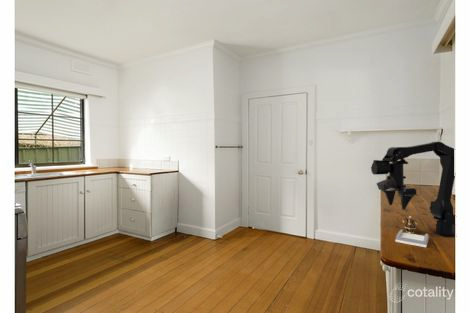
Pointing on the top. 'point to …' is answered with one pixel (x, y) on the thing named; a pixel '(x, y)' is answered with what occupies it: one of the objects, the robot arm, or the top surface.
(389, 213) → the top surface
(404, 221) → the figurine
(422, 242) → the tray
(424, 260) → the top surface
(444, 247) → the top surface
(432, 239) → the top surface
